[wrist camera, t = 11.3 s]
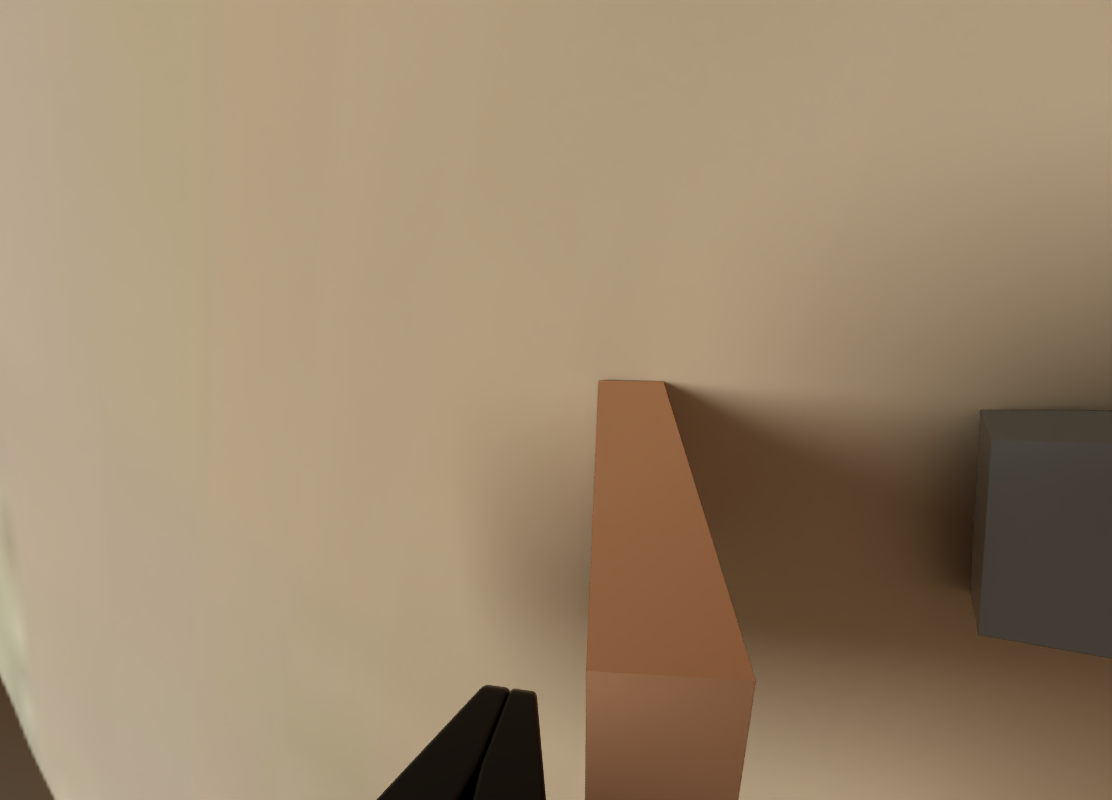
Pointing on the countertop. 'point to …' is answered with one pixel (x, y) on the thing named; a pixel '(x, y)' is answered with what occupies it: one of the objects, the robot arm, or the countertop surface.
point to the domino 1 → (658, 619)
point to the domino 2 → (1044, 529)
